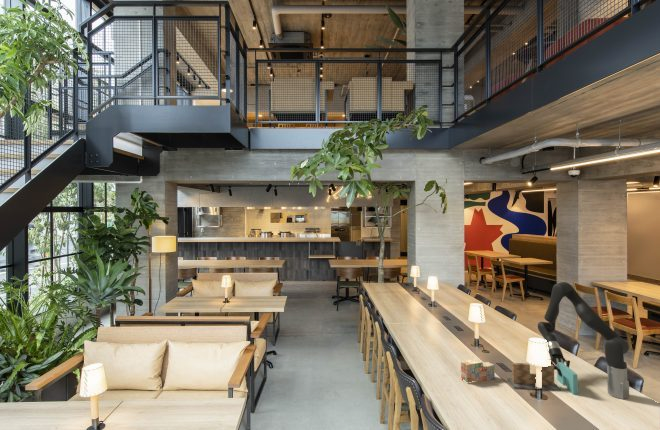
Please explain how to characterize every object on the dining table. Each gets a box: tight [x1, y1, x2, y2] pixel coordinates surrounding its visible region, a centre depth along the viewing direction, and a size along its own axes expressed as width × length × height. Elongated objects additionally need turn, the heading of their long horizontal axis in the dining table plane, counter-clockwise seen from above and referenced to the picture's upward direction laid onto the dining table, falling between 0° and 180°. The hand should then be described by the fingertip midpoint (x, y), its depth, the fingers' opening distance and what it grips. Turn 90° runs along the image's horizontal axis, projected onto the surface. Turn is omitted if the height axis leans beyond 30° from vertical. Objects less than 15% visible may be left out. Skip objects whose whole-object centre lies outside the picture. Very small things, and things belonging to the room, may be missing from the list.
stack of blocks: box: [460, 358, 496, 383], centre depth 240 cm, size 21×6×12 cm, turn 106°
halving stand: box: [506, 362, 561, 392], centre depth 231 cm, size 27×12×13 cm, turn 82°
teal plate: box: [556, 362, 579, 396], centre depth 228 cm, size 20×2×12 cm, turn 172°
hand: (563, 375), depth 232 cm, fingers closed on teal plate, 2 cm apart
